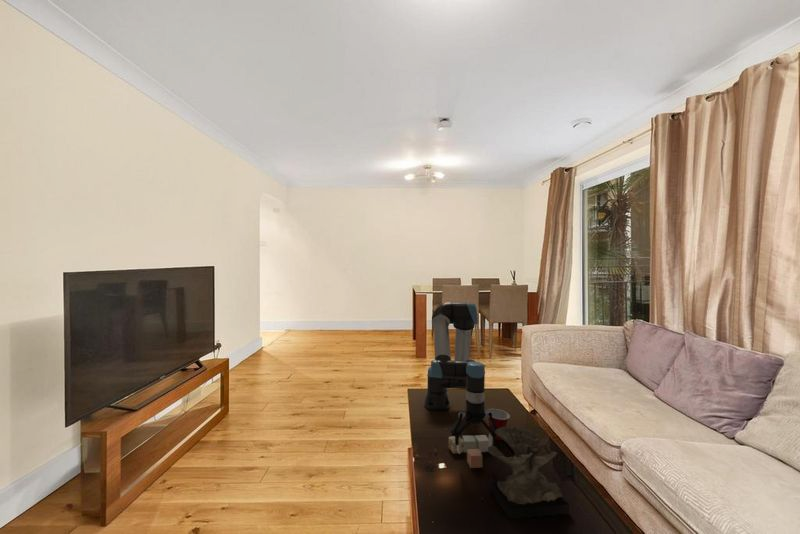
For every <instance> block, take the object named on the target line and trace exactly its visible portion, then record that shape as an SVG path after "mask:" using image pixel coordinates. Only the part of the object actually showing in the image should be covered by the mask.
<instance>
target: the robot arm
mask: <svg viewBox="0 0 800 534" xmlns="http://www.w3.org/2000/svg"><path fill="white" fill-rule="evenodd" d="M451 324H453V325H452V326H453V328H454V329H455V335H454V337H455V339H454V359H453V360H452V355H451V343H450V330H449V326H450V325H451ZM478 324H479V316H478V309H477V306H476V304H475V303H474V302H450V301H447V302H443V303H441V304H440V305H438V306H437V307H436V308H435V309H434V310H433V313H432V316H431V325H432V326H433V342H434V345H433V346H434V359H433V360H431V361H430V366H429V367H428V368H427V374H426V377H427V384H426V385H427V388H426V389H427V391H426V395H425V398H424V402H423V403H424V405H423V406H424V407H425V409H428V410H431V411H435V412H442V410H443V411H446V410H448V409H450V408H449V407H451V401H450V397H449V395H448V389H449V390H451V389H452V390H465V399H466V400H465V412H461V410H460V411H458V412H457V413H458V415H457V418H456V419H455V422H454V424H453V425H452V428H451V430H450V434H451V437H452V436H455V444H456V445H457V451H458V453H457V454H459V455H460V454H462V453H461V439H462V438H461V435H462V434H463V433H464V432H465V430H466V429H467V428H468V427H469V426H470V425H475V424H477V425H479V424H482V425H483V426H484V427H485V428H486V429H487V431H488V432H489V433H488V439H489V447H490V446H494V444H495V443H496V442H495V441H496V440H495V437H496V434H495V430H496V429H497V427H496V425H495V422H494V420H493V418H492V413H491V412H490V411H489V410H488V409H487V410H488V411H487V410H486V411H485V387H486V386H485V381H486V380H485V379H486V377H485V376H486V371H485V364H484V363H482V362H479V361H476V360H474V359H473V358H471V356H470V355H471V344H472V343H471V341H472V330H475V325H478ZM485 417H487V419H488V418H489V420H490V422H491V424H492V427H493V429H494V431H492V430H491V428H490V427H489V424H487V422H486V421H485V420H484V418H485ZM464 418H465V419H464ZM463 419H464V420H463ZM489 420H488V421H489ZM462 421H463V422H462Z"/></svg>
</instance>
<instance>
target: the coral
mask: <svg viewBox="0 0 800 534" xmlns="http://www.w3.org/2000/svg"><path fill="white" fill-rule="evenodd" d="M495 434H496V435H497V436H499V437H500V438H501V439H503V441H504V442H505V443H506V444H507V445H508V447H509V448H510V449H511V450H512V451H513V454H514V455H513V456H508V457H507V456H506V455H505V454H504V453H503V452H502V451H500V450H499V449H498V447H497V446H495V445H493V446H490V447H488V451H489V452H488V453H489V454H490V455H492V456H493V457H495V458H497V459H498V460H499V461H501V462H502V463H504V464H506V465H508V466H509V467H510V470H511V471H512V474H510V475H507V478H506V480H498V481H492V483H491V485H492V486H491V489H492V490H491V491H492V493H493V495H494V496H495V498H496V500H497V502H498V504H499V505H500V507H501V508H502V510H503V512H504V513H505V515H506V517H507V518H515V519H518V518H517V517H527V518H530V517H529V516H539V517H542V516H541V515H551V516H558V515H557V514H563V515H569V514H570V503H569V502H568V501H567V500H566V499H565V497H564V496H563V493H562V491H561V489H560V487H559V486H558V483H556V482H551V481H550V480H549V479H548V478H547V477H546V476H545V475H544V474H543V473H542V472H541V471H539V469H540V468H541V467H542V466H544V465H546V464H547V463H549V462H550V461H551V460H552V459H554V457H556V455H558V453H557V452H556V451H552V452H550V453H549V454H546V455H541V454H540V455H537V454H538V453H540V452H541V450H542V449H543V448H544V447H545V446H546V445H547V444H548V441H549V440H548V439H547V438H543V439H541V441H540V443H539V444H538V442H539V440H540V437H541V436H540V434H539V433H537V432H535V431H534V430H533V431H532V430H530V429H521V428H519V427H517V426H513V427H510V426H506V427H501V428H498V429H496V430H495ZM537 445H538V446H537ZM532 461H533V462H532ZM532 463H533V464H532ZM554 514H555V515H554Z"/></svg>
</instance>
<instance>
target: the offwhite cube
mask: <svg viewBox="0 0 800 534" xmlns="http://www.w3.org/2000/svg"><path fill="white" fill-rule="evenodd" d="M474 438H475V441H476V449H479V451H480V452H481V453H487V452H488V453H489V451H488V447H489V437H488V436H487V435H486V434H480V435H474Z"/></svg>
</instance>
